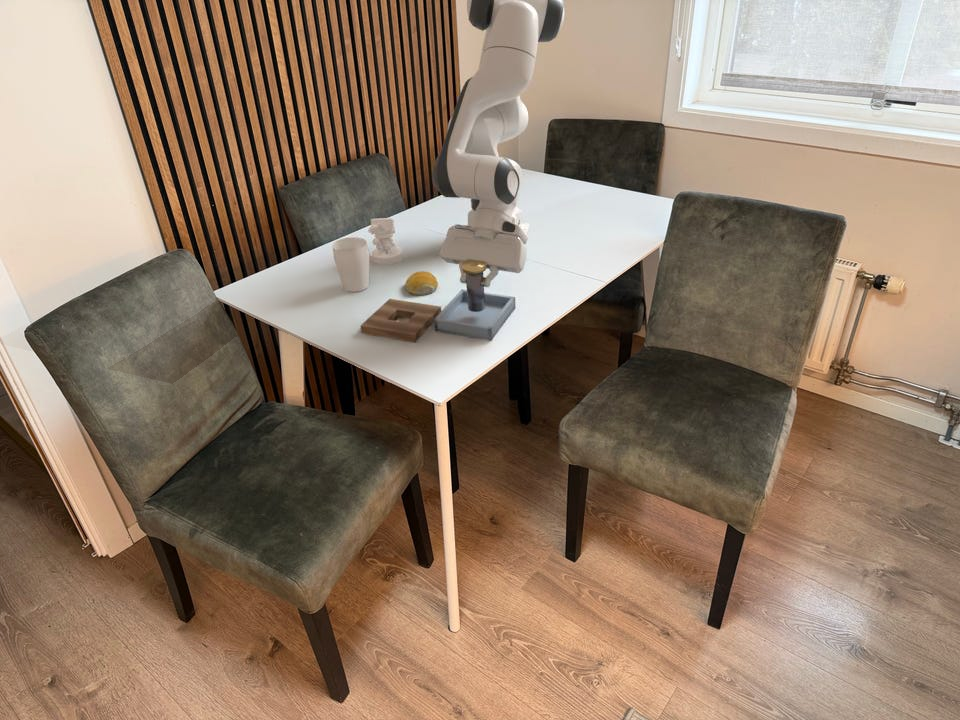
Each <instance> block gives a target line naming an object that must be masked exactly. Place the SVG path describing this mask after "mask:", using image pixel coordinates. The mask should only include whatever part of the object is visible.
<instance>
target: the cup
mask: <svg viewBox="0 0 960 720" xmlns="http://www.w3.org/2000/svg"><path fill="white" fill-rule="evenodd" d="M331 247H332V255H333V260H334V263H335V265H336V269H337V272H338V275H339V277H340V280H341V281H340V282H341V284H342V286H343V290H345V291H347V292H351V293H353V292H354V293H356V292H362V291H364V290H366V289H367V288H368V287H370V251H369V248H368V241H367V240H366V239H365V238H363V237H355V236H353V237H345V238H340V239H338V240H336V241H335V242H333V244H332V246H331Z"/></svg>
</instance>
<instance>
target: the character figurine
mask: <svg viewBox="0 0 960 720" xmlns="http://www.w3.org/2000/svg"><path fill="white" fill-rule="evenodd" d="M367 231H368V233H370V234H371V235H374V237H375V238H372V244H373V246H376V248H375V249H374V250H372V251H371V260H372V262H373V263H375V264H377V265H385V266H386V265H387V266H388V265H393V264H396V263H397V264H398V263H399V262H401V261H403V259H404V253H403V249H402V248H401V247H399V246H395V245H396V243H395V242H394V240H393V238H392V237H393V236H394V234H395V233H396V229H395V220H394V219H393V218H391V217H384V218H381V217H380V218H371V219H370V227H369V228H368V230H367Z"/></svg>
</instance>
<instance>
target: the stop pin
mask: <svg viewBox="0 0 960 720" xmlns="http://www.w3.org/2000/svg"><path fill="white" fill-rule="evenodd" d="M461 266H462V271H463V272H465V273H466V284H465V285H466V290H467V301H468V310H470V311H472V312H480V311H482V310H484V309H485V296H484V293H485V287H484V286H482V285H481V282H482V278H483V277H484V272H485V271H486V270H487V267H486V262H485V261H478V260H472V259H468V260H465V261H463V262H462V264H461Z"/></svg>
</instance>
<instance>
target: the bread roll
mask: <svg viewBox="0 0 960 720" xmlns="http://www.w3.org/2000/svg"><path fill="white" fill-rule="evenodd" d="M404 286H405V288H406V290H407V292H408V293H410V294H411V295H415V296H425V295H430V294H432V293H434V292H435V291H437V289H438V287H439V282H438V280H437V278H436V276H435V275H434V274H432V272H429V271H424V270H423V271H422V270H421V271H416V272H413V273H412V274H411V275H409V276H408V277H407V279H406V281H405V285H404Z"/></svg>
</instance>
